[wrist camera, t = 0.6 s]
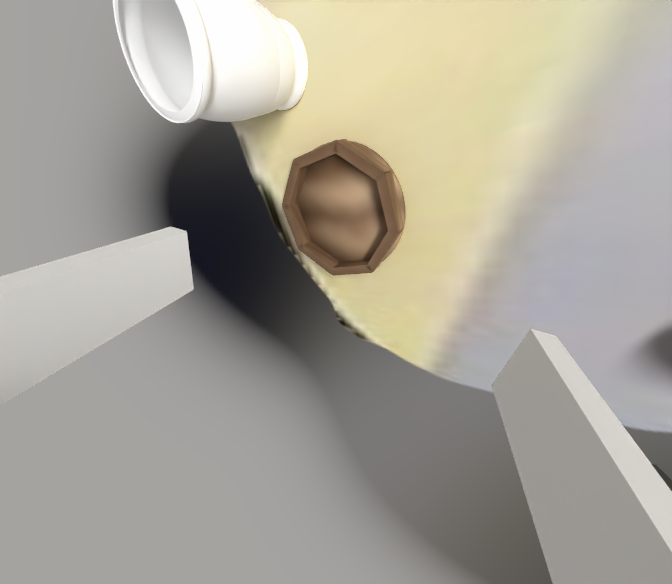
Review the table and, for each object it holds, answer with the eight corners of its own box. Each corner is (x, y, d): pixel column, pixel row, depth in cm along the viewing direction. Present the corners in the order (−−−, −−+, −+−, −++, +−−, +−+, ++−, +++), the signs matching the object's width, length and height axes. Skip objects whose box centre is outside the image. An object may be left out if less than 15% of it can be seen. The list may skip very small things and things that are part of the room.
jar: (257, 120, 37) (146, 124, 26) (240, 15, 31) (90, -34, 20) (320, 118, 32) (216, 122, 21) (313, -6, 26) (168, -84, 16)
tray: (279, 165, 38) (265, 168, 36) (387, 116, 28) (376, 116, 26) (317, 271, 45) (308, 279, 43) (417, 263, 35) (410, 272, 33)
